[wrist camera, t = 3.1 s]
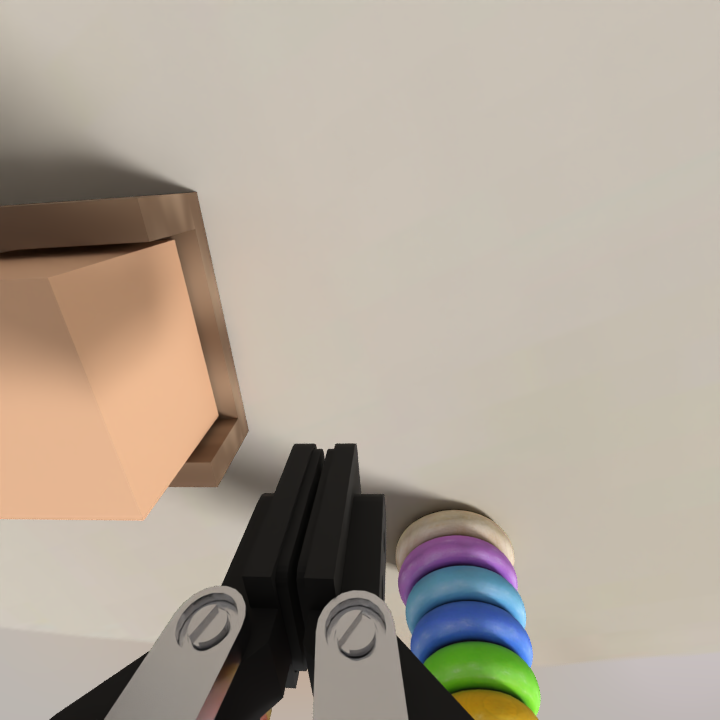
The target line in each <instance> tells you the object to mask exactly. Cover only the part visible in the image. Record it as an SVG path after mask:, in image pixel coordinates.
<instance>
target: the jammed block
mask: <svg viewBox="0 0 720 720" xmlns="http://www.w3.org/2000/svg"><path fill="white" fill-rule="evenodd" d="M218 416H219V415H218V411H217V407H216V403H215V399H214V395H213V391H212V387H211V383H210V379H209V375H208V371H207V367H206V363H205V359H204V355H203V351H202V347H201V343H200V339H199V335H198V331H197V327H196V323H195V319H194V315H193V311H192V307H191V303H190V299H189V295H188V291H187V287H186V283H185V279H184V275H183V271H182V267H181V263H180V259H179V255H178V251H177V247H176V243H175V240H160V241H151V242H138V243H121V244H103V245H86V246H69V247H52V248H35V249H17V250H12V251H7V252H2V253H0V519H53V520H144V519H145V518H146V517H147V515H148V514H149V513H150V511H151V510H152V508H153V507H154V506H155V504H156V503H157V501H158V500H159V499H160V497H161V496H162V494H163V493H164V492H165V490H166V489H167V487H168V486H169V485H170V483H171V482H172V480H173V479H174V478H175V476H176V475H177V473H178V472H179V471H180V469H181V468H182V466H183V465H184V464H185V462H186V461H187V459H188V458H189V457H190V455H191V454H192V452H193V451H194V450H195V448H196V447H197V445H198V444H199V443H200V441H201V440H202V438H203V437H204V436H205V434H206V433H207V431H208V430H209V429H210V427H211V426H212V424H213V423H214V422H215V420H216V419H217V417H218Z"/></svg>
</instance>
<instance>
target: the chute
mask: <svg viewBox="0 0 720 720" xmlns="http://www.w3.org/2000/svg"><path fill="white" fill-rule="evenodd" d="M160 240H175V243H176V247H177V251H178V255H179V259H180V263H181V267H182V271H183V275H184V279H185V283H186V287H187V291H188V295H189V299H190V303H191V307H192V311H193V315H194V319H195V323H196V327H197V331H198V335H199V339H200V343H201V347H202V351H203V355H204V359H205V363H206V367H207V371H208V375H209V379H210V383H211V387H212V391H213V395H214V399H215V403H216V407H217V411H218V415H219V416H218V417H217V419H216V420H215V422H214V423H213V424H212V426H211V427H210V429H209V430H208V431H207V433H206V434H205V436H204V437H203V438H202V440H201V441H200V443H199V444H198V445H197V447H196V448H195V450H194V451H193V452H192V454H191V455H190V457H189V458H188V459H187V461H186V462H185V464H184V465H183V466H182V468H181V469H180V471H179V472H178V473H177V475H176V476H175V478H174V479H173V480H172V482H171V483H170V485H169V486H168V487H218V485H219V483H220V482H221V480H222V478H223V476H224V474H225V473H226V471H227V469H228V467H229V465H230V464H231V462H232V460H233V458H234V456H235V455H236V453H237V451H238V449H239V447H240V446H241V444H242V442H243V440H244V438H245V437H246V435H247V433H248V431H249V430H248V426H247V421H246V416H245V412H244V407H243V403H242V398H241V393H240V389H239V384H238V380H237V375H236V371H235V366H234V361H233V357H232V352H231V348H230V343H229V338H228V334H227V329H226V325H225V320H224V315H223V311H222V306H221V302H220V297H219V293H218V288H217V283H216V279H215V274H214V270H213V265H212V260H211V256H210V251H209V247H208V242H207V237H206V233H205V228H204V224H203V219H202V215H201V210H200V205H199V201H198V196H197V192H191V193H177V194H163V195H148V196H134V197H119V198H105V199H91V200H76V201H62V202H47V203H33V204H19V205H4V206H0V253H2V252H7V251H12V250H17V249H35V248H52V247H69V246H86V245H103V244H121V243H138V242H151V241H160Z"/></svg>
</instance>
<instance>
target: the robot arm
mask: <svg viewBox="0 0 720 720" xmlns="http://www.w3.org/2000/svg"><path fill="white" fill-rule="evenodd" d="M385 568H386V512H385V497H384V494H361V488H360V476H359V464H358V452H357V445H356V444H335V448H334V449H328V450H327V454H326V458H325V459H324V452H323V449H317V447H316V444H294V446H293V448H292V450H291V453H290V455H289V458H288V460H287V463H286V465H285V468H284V471H283V473H282V476H281V478H280V481H279V483H278V486H277V488H276V491H275V493H264V494H262V495H261V497H260V499H259V500H258V503H257V505H256V507H255V510H254V512H253V514H252V516H251V519H250V521H249V523H248V526H247V528H246V530H245V533H244V535H243V537H242V539H241V542H240V544H239V546H238V549H237V551H236V553H235V556H234V558H233V560H232V562H231V565H230V567H229V569H228V572H227V574H226V576H225V578H224V581H223V583H222V585H221V586H214V587H210V588H206V589H204V590H202V591H200V592H198V593H196V594H194V595H193V596H191V597H190V598H189V599H188V600H186V601H185V602H184V603H183V604H182V605H181V606H180V607H179V609H178V610H177V611H176V612H175V613H174V615H173V617H172V618H171V620H170V621H169V623H168V624H167V626H166V627H165V629H164V630H163V632H162V633H161V635H160V636H159V638H158V639H157V641H156V642H155V644H154V645H153V647H152V648H151V650H150V651H149V652H147V653H146V654H144V655H143V656H141V657H140V658H138V659H137V660H135V661H134V662H132V663H131V664H130V665H128V666H126V667H125V668H124V669H122V670H121V671H119V672H118V673H116V674H115V675H113V676H112V677H110V678H109V679H108V680H106V681H104V682H103V683H101V684H100V685H99V686H97V687H96V688H94V689H93V690H91V691H90V692H88V693H87V694H85V695H84V696H82V697H81V698H79V699H78V700H76V701H75V702H73V703H72V704H70V705H69V706H68V707H66V708H65V709H63V710H62V711H60V712H59V713H57V714H56V715H55V716H53V717H52V718H51V719H50V720H270V716H271V711H272V707H273V706H274V705H275V704H276V703H277V702H279V701H280V700H281V699H282V698H283V695H284V691H285V688H296V685H297V680H298V675H299V671H306V670H307V668H308V672H309V678H310V683H311V688H312V693H313V698H314V699H313V720H474V718H473V717H472V716H471V715H470V714H469V713H468V712H467V711H466V710H465V709H464V708H463V707H462V706H461V704H460V703H459V702H458V701H457V700H456V699H455V698H454V697H453V696H452V695H451V694H450V693H449V691H448V690H447V689H446V688H445V687H444V686H443V685H442V684H441V683H440V682H439V681H438V680H437V679H436V677H435V676H434V675H433V674H432V673H431V672H430V671H429V670H428V669H427V668H426V667H425V666H424V665H423V663H422V662H421V661H420V660H419V659H418V658H417V657H416V656H415V655H414V654H413V653H412V652H411V650H410V649H409V648H408V647H407V646H406V645H405V644H404V643H403V642H402V641H401V640H400V639H399V638H398V636H397V635H396V630H395V623H394V620H393V616H392V613H391V610H390V609H389V608H388V606H387V605H386V603H385V602H384V601H385Z"/></svg>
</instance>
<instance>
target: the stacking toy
mask: <svg viewBox="0 0 720 720" xmlns="http://www.w3.org/2000/svg"><path fill="white" fill-rule="evenodd" d="M396 565H397V569H398V572H399V577H398V587H399V592H400V596H401V599H402V601H403V603H404V604H405V606H406V620H407V624H408V627H409V630H410V632H411V634H412V638H411V652H412V653H413V654H414V655H415V656H416V657H417V658H418V659H419V660H420V661H421V662H422V663H423V665H424V666H425V667H426V668H427V669H428V670H429V671H430V672H431V673H432V674H433V675H434V676H435V677H436V679H437V680H438V681H439V682H440V683H441V684H442V685H443V686H444V687H445V688H446V689H447V690H448V691H449V693H450V694H451V695H452V696H453V697H454V698H455V699H456V700H457V701H458V702H459V703H460V704H461V706H462V707H463V708H464V709H465V710H466V711H467V712H468V713H469V714H470V715H471V716H472V717H473V718H474V720H538V718H537V717H536V715H537V713H538V710H539V706H540V690H539V686H538V683H537V680H536V677H535V675H534V673H533V672H532V670H531V668H530V667H531V664H532V658H533V653H532V645H531V642H530V639H529V637H528V634H527V632H526V631H525V625H526V612H525V608H524V604H523V601H522V599H521V597H520V595H519V593H518V592H517V588H518V586H517V576H516V573H515V570H514V568H513V567H514V551H513V547H512V544H511V541H510V540H509V538H508V536H507V535H506V533H505V532H504V531H503V530H502V529H501V528H500V527H499V526H498V525H497V524H496V523H495V522H493V521H492V520H490V519H488V518H487V517H484V516H482V515H480V514H477V513H473V512H470V511H463V510H446V511H440V512H436V513H432V514H429V515H426V516H424V517H422V518H420V519H418V520H417V521H415V522H414V523H412V524H411V525H410V526H409V527H408V528H407V529H406V530H405V531H404V532H403V534H402V535H401V537H400V539H399V541H398V544H397V548H396Z"/></svg>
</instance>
